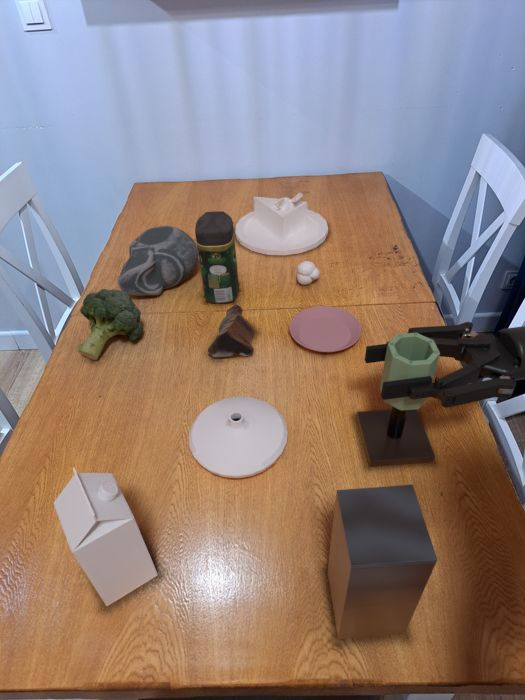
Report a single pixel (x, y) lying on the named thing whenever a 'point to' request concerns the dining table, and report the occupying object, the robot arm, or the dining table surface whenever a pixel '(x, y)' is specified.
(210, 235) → the coffee jar
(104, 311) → the vegetable
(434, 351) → the green octagonal tube
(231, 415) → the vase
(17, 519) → the dining table surface
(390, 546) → the stand
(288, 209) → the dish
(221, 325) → the stone
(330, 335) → the plate
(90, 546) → the milk carton
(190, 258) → the grey swirled rock
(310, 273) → the microfossil shell
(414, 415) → the peg stand
